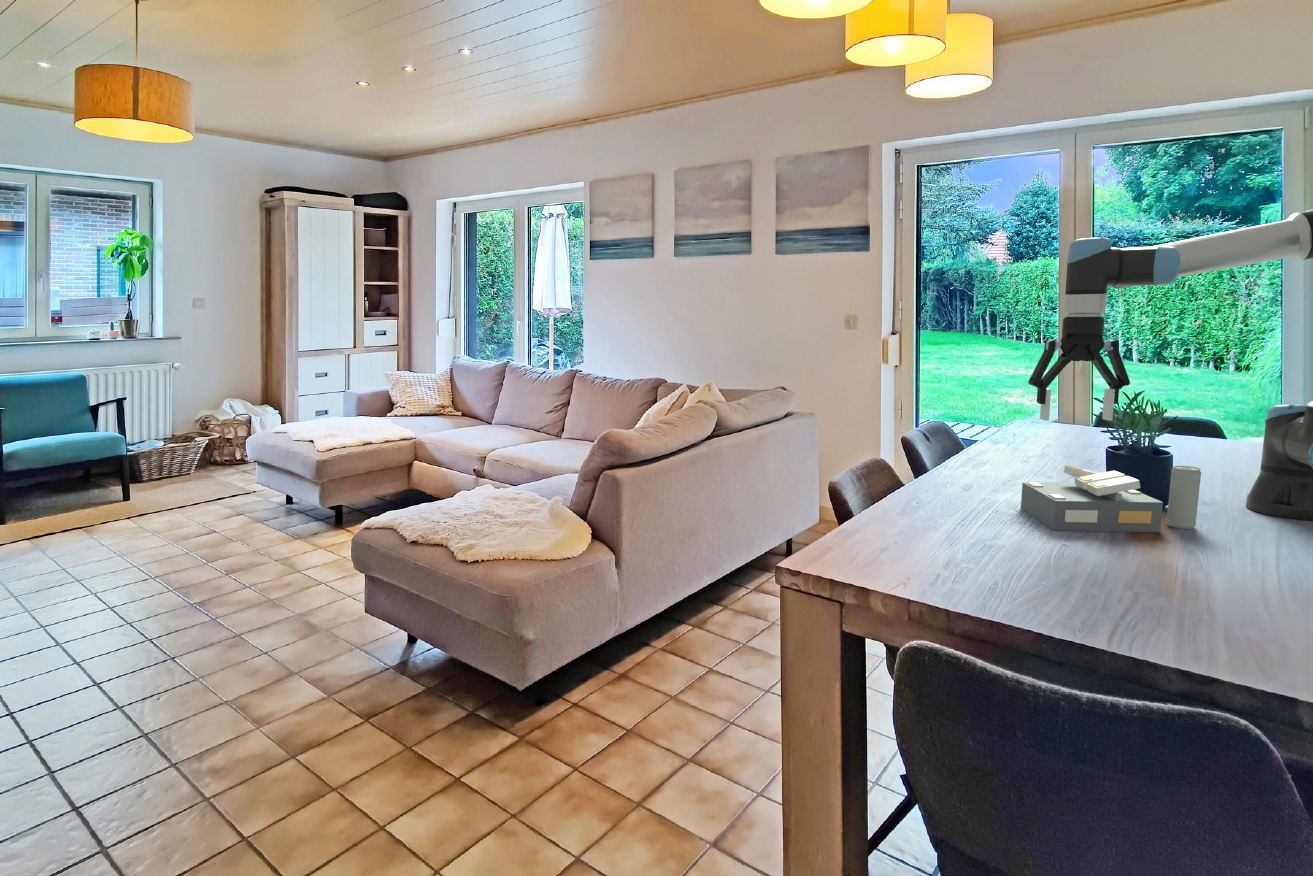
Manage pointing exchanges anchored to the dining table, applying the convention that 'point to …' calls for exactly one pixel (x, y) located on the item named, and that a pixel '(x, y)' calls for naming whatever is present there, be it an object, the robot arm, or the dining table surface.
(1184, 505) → the beverage can
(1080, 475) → the rocker
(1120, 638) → the dining table surface
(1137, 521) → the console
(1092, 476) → the rocker
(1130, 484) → the plate
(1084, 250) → the robot arm
